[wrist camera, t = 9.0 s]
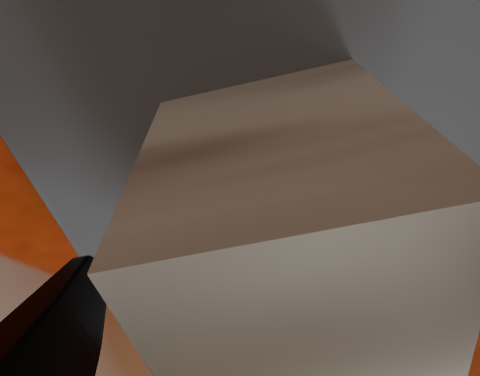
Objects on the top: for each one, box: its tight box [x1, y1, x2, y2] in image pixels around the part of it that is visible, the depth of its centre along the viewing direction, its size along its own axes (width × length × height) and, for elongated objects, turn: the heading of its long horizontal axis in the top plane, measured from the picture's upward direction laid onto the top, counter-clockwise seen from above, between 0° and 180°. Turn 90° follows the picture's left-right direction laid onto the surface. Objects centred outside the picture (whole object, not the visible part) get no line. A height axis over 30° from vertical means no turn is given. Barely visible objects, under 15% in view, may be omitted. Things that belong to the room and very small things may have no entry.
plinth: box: [0, 0, 480, 257], centre depth 13 cm, size 14×14×5 cm
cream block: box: [87, 59, 480, 376], centre depth 8 cm, size 5×5×6 cm
